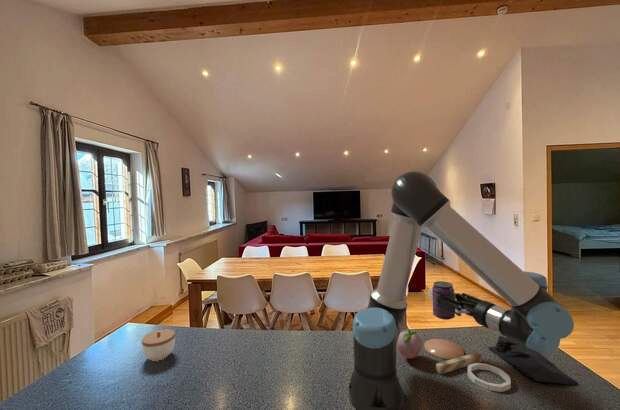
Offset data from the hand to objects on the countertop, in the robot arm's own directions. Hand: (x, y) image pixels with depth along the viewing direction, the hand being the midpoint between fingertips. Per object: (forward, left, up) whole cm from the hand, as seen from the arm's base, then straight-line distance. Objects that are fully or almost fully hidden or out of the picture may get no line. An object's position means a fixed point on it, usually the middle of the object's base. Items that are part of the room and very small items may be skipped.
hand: (435, 292), depth 105 cm
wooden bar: (-8, -12, -20) cm, 24 cm away
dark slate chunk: (+10, -26, -21) cm, 35 cm away
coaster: (-2, -4, -20) cm, 20 cm away
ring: (-8, -20, -20) cm, 29 cm away
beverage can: (-3, -4, -7) cm, 9 cm away
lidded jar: (-82, +63, -20) cm, 105 cm away
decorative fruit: (-16, +2, -20) cm, 26 cm away
